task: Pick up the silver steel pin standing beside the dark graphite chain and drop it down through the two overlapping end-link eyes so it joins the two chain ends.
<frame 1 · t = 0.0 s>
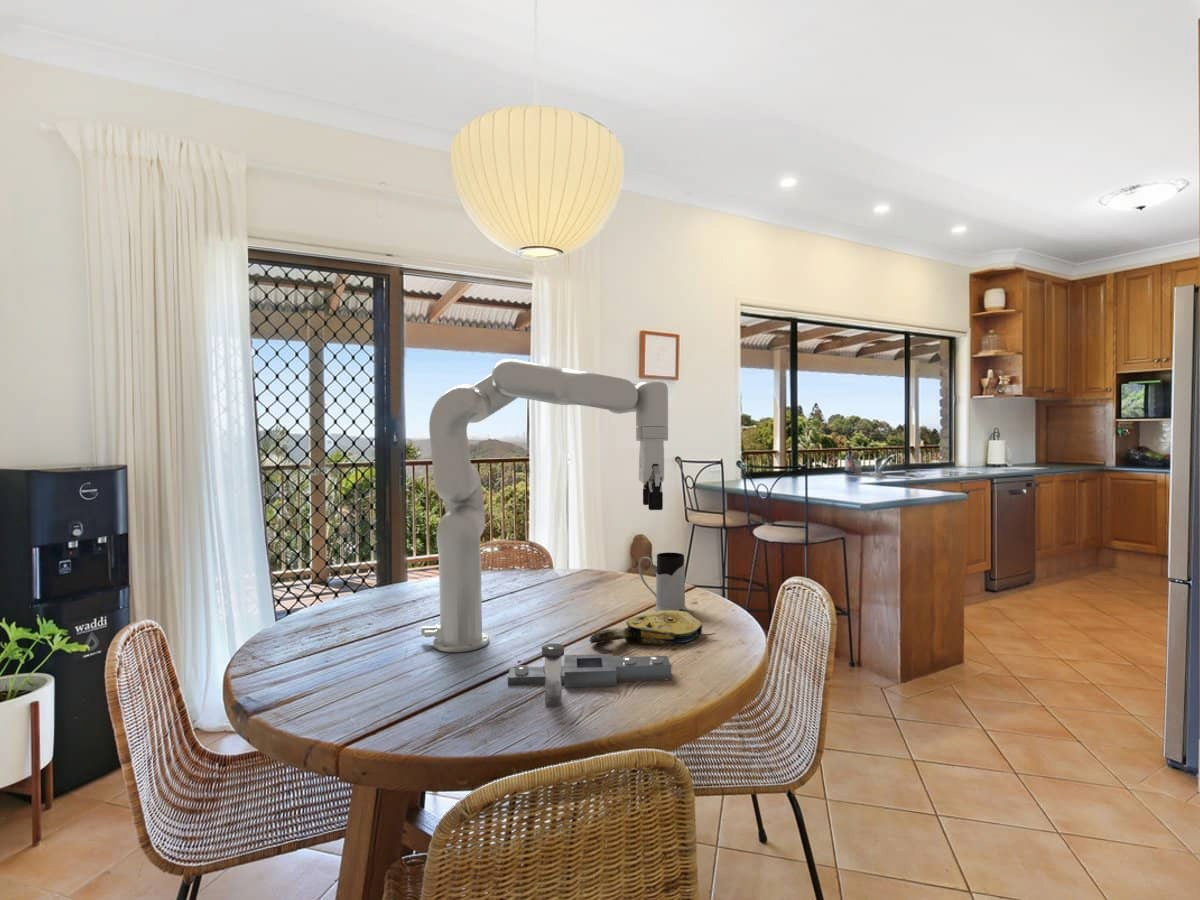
hand: (652, 507, 144), 31 cm above the table, tool pointing down, fingers open, 9 cm apart
grey black mug: (661, 608, 171), on the table
chain end left: (589, 677, 122), on the table
pulley block: (649, 640, 145), on the table
chain end right: (589, 677, 122), on the table
steel pin: (553, 703, 111), on the table
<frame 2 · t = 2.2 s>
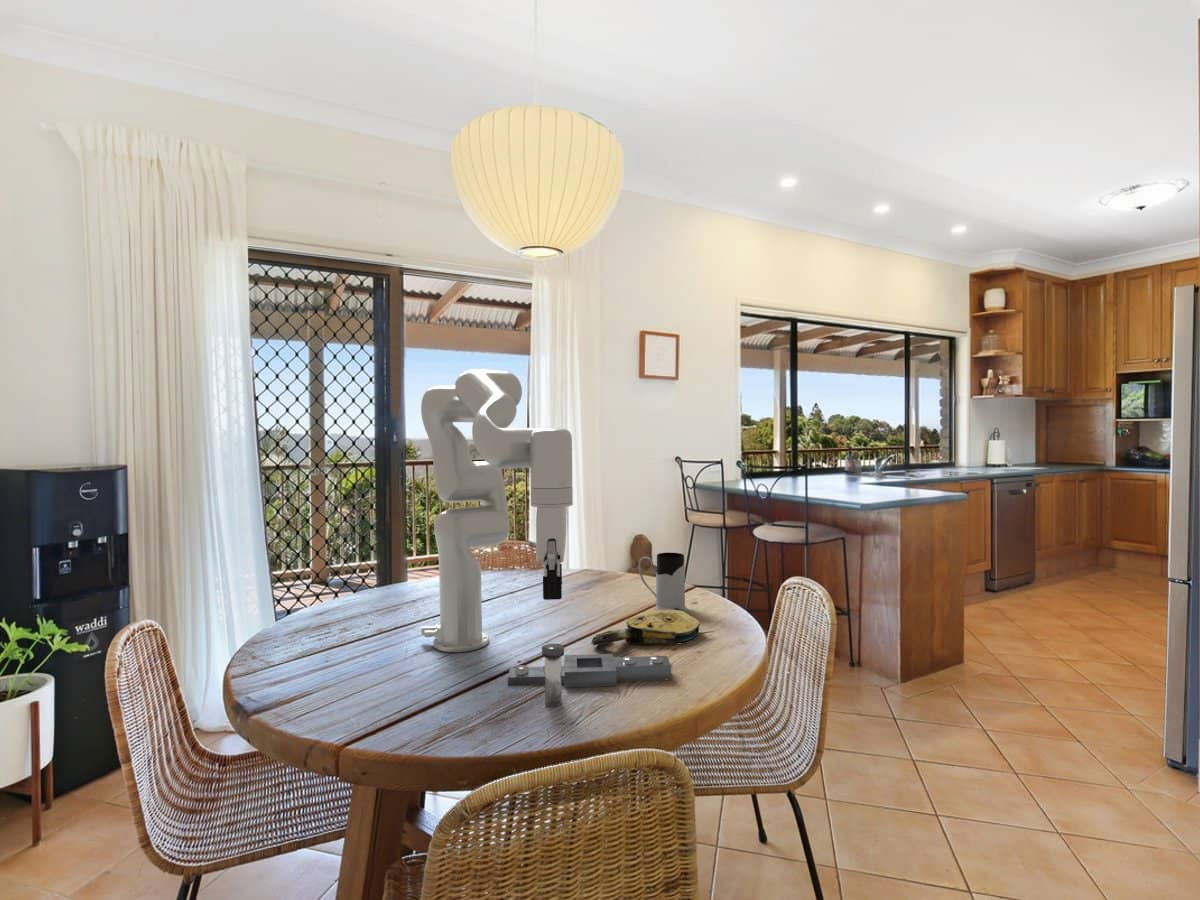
hand: (552, 591, 111), 20 cm above the table, tool pointing down, fingers open, 9 cm apart
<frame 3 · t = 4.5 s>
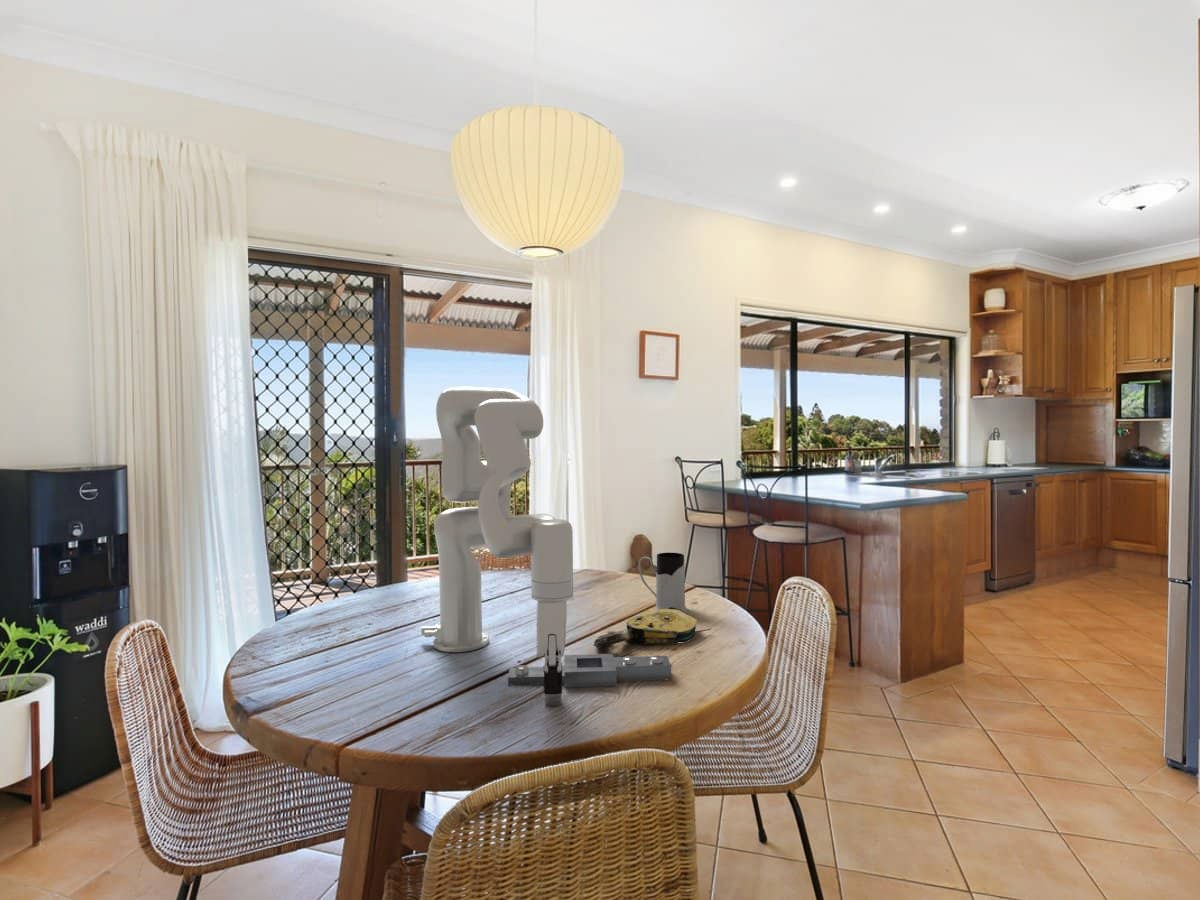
hand: (553, 688, 111), 3 cm above the table, tool pointing down, fingers closed on steel pin, 3 cm apart
steel pin: (553, 703, 111), on the table, touching gripper
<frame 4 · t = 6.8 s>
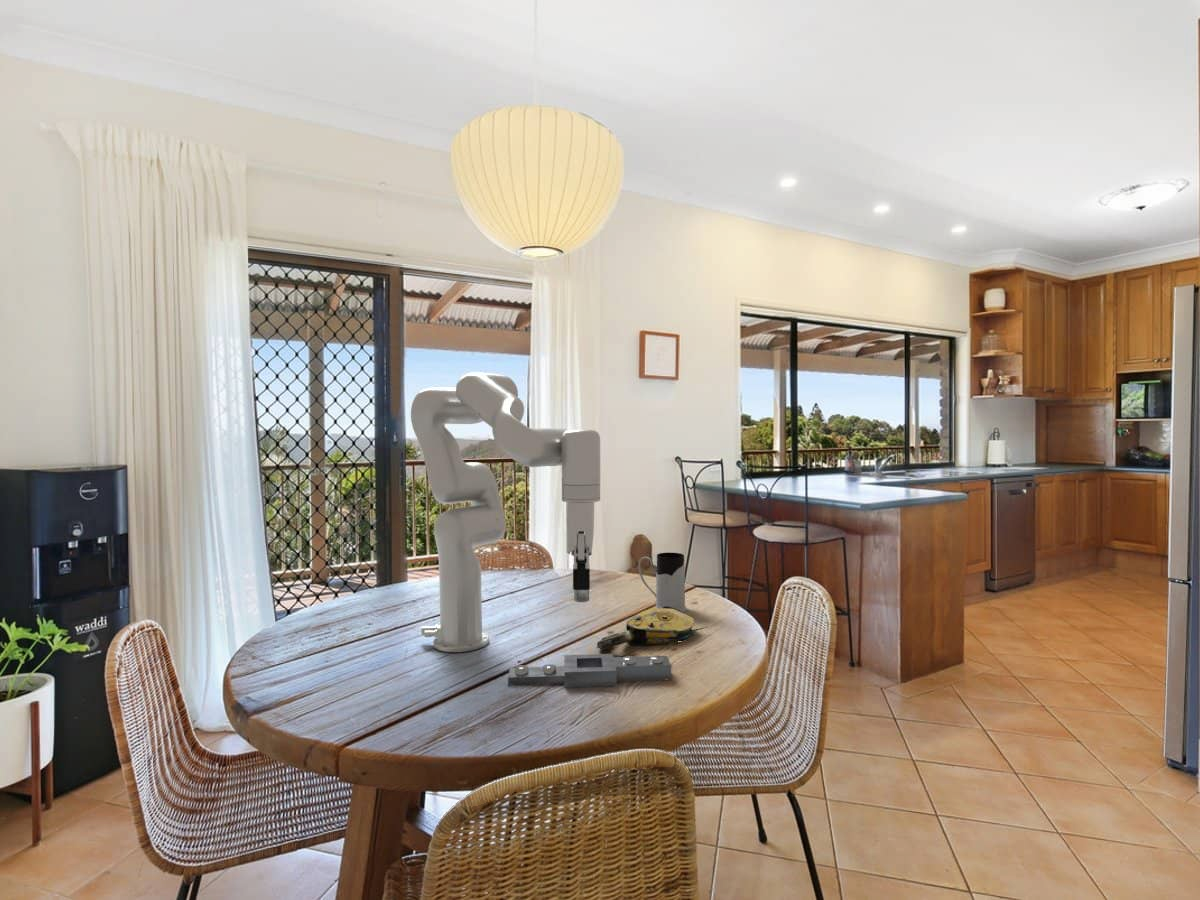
hand: (581, 586, 120), 19 cm above the table, tool pointing down, fingers closed on steel pin, 3 cm apart
steel pin: (581, 600, 120), point 16 cm above the table, touching gripper
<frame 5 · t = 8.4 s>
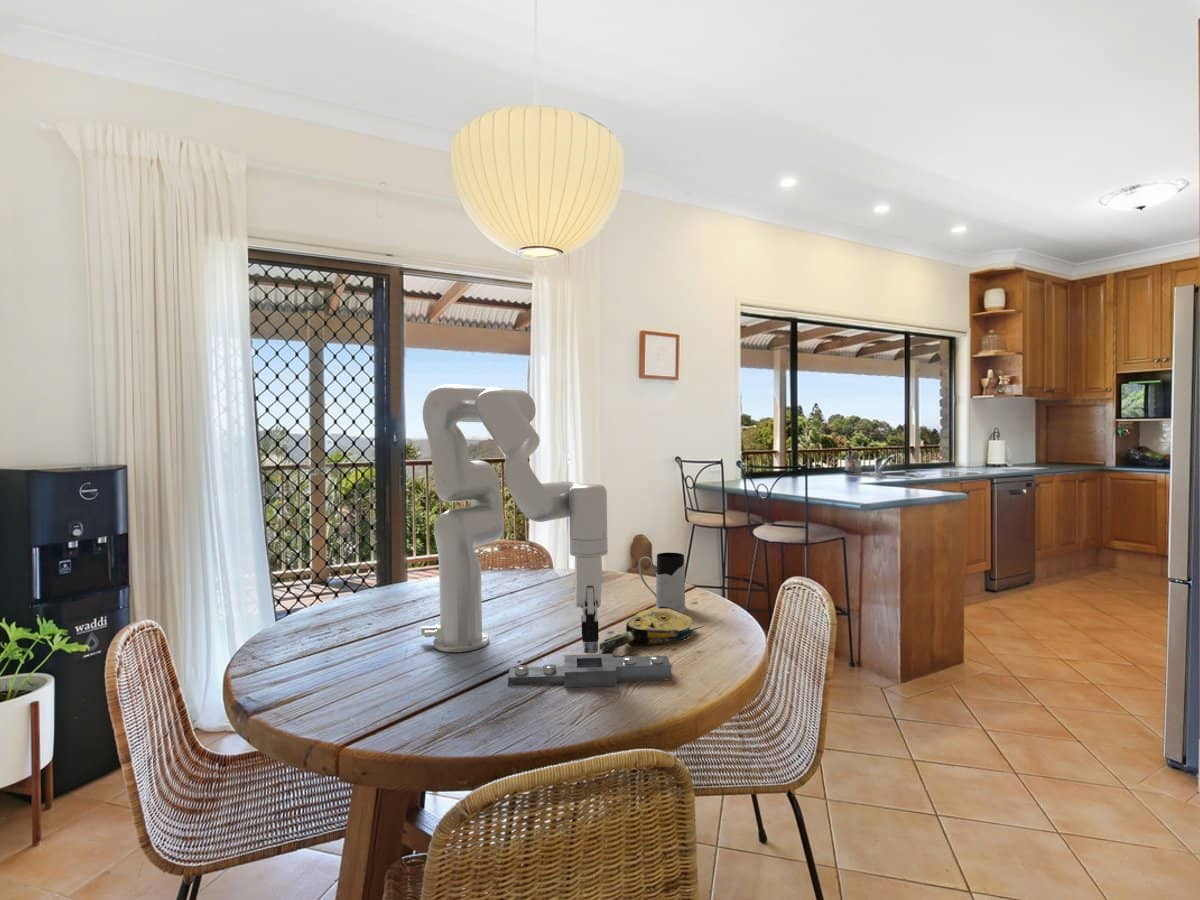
hand: (590, 637, 122), 8 cm above the table, tool pointing down, fingers closed on steel pin, 3 cm apart
steel pin: (590, 650, 122), point 5 cm above the table, touching gripper
when the fingers open (5 cm above the table, at t = 9.3 s): steel pin drops 2 cm, resting in chain end left.
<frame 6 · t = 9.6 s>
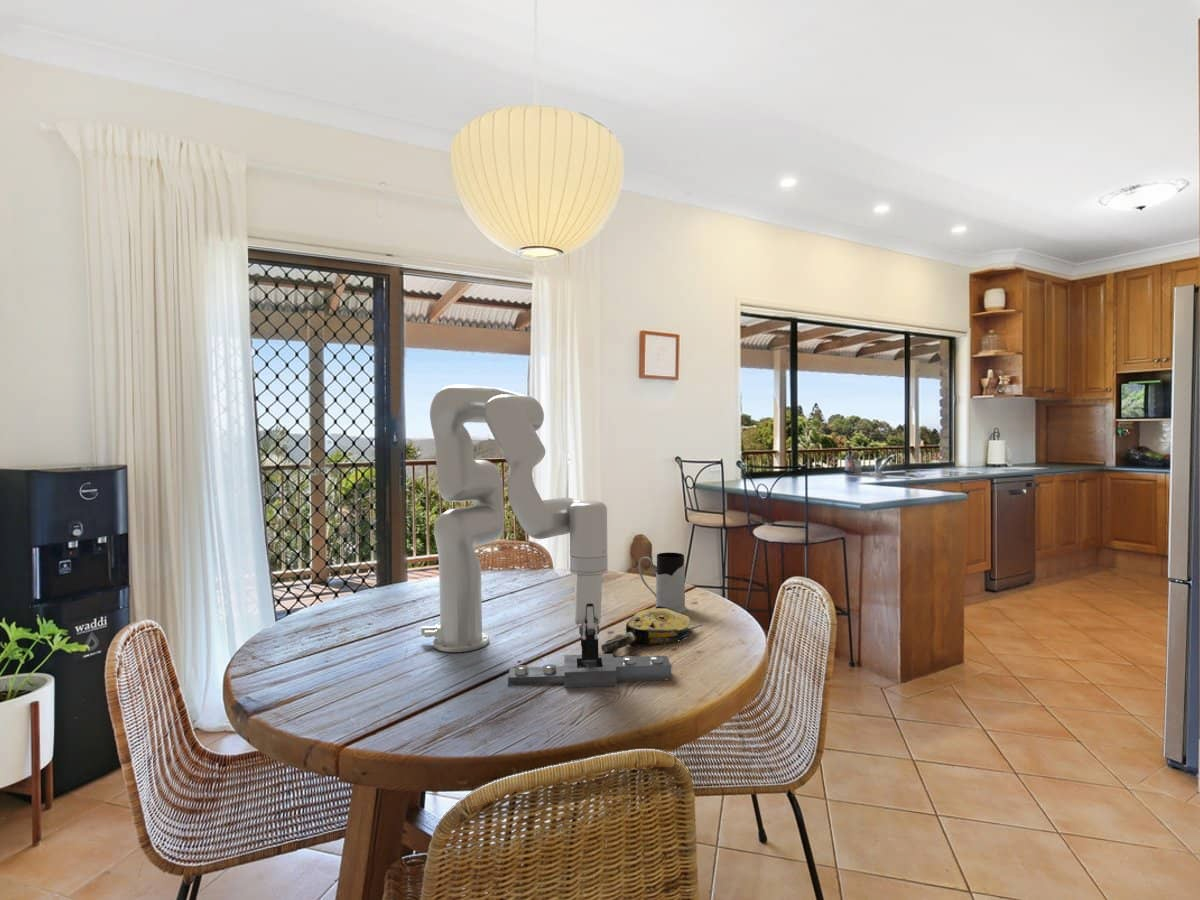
hand: (589, 652, 122), 5 cm above the table, tool pointing down, fingers open, 6 cm apart
steel pin: (589, 677, 123), resting in chain end left
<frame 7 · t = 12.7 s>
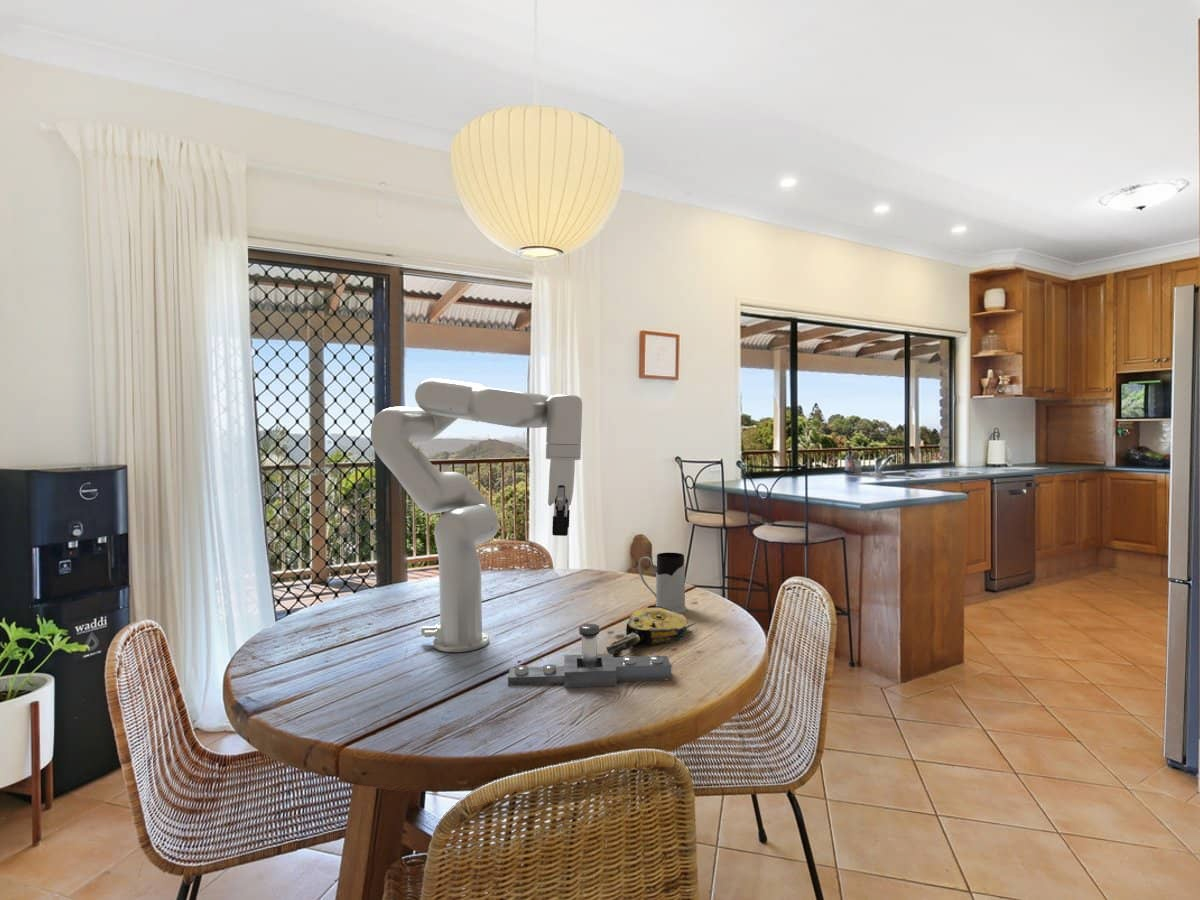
hand: (560, 531, 133), 28 cm above the table, tool pointing down, fingers open, 9 cm apart
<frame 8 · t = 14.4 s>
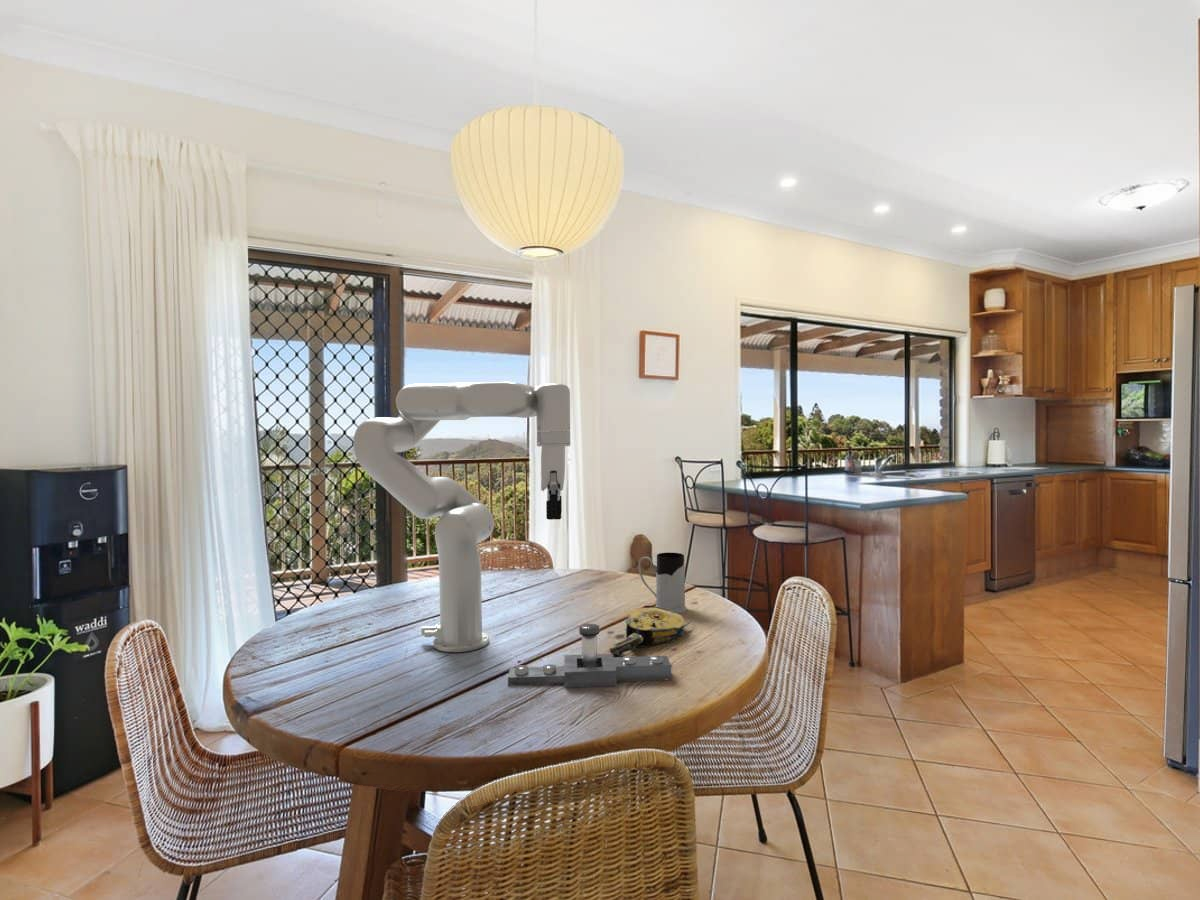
hand: (554, 516, 137), 30 cm above the table, tool pointing down, fingers open, 9 cm apart
at the end: steel pin 0.1 cm off-centre on the chain end left, point 0.0 cm above the chain end left's base; steel pin tilted 0°; the gripper is holding nothing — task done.
